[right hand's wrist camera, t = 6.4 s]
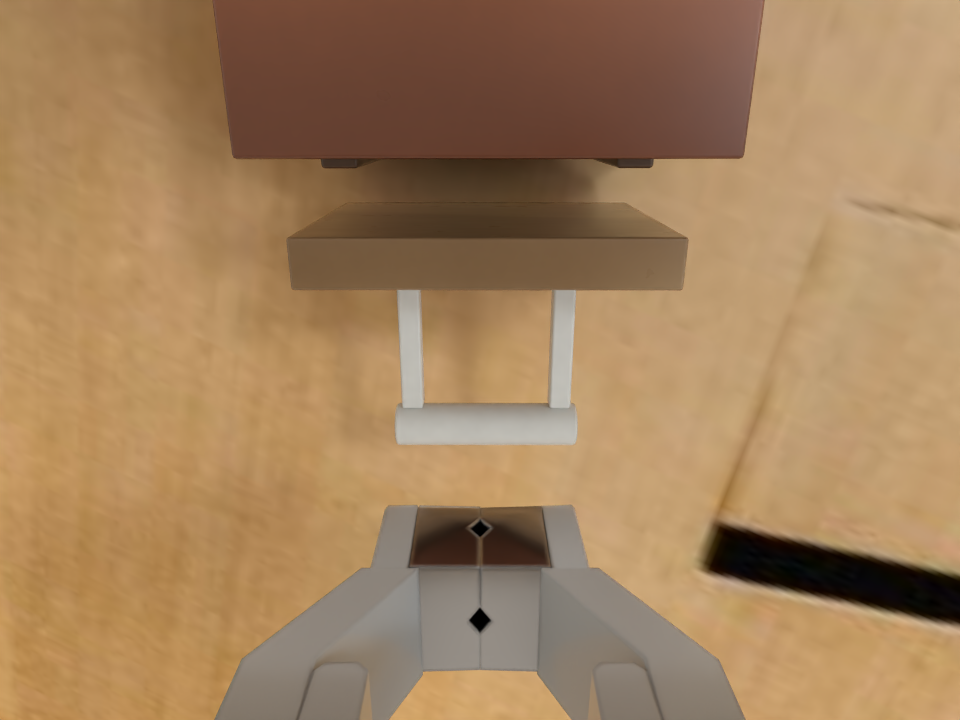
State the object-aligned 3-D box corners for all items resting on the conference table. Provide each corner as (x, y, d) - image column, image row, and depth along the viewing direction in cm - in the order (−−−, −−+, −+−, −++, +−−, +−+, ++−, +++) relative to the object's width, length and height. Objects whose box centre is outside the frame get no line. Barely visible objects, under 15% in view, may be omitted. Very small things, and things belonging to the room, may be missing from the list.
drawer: (611, 391, 23) (660, 494, 16) (359, 391, 23) (312, 493, 16) (680, -504, 15) (822, -959, 9) (295, -502, 15) (160, -952, 9)
